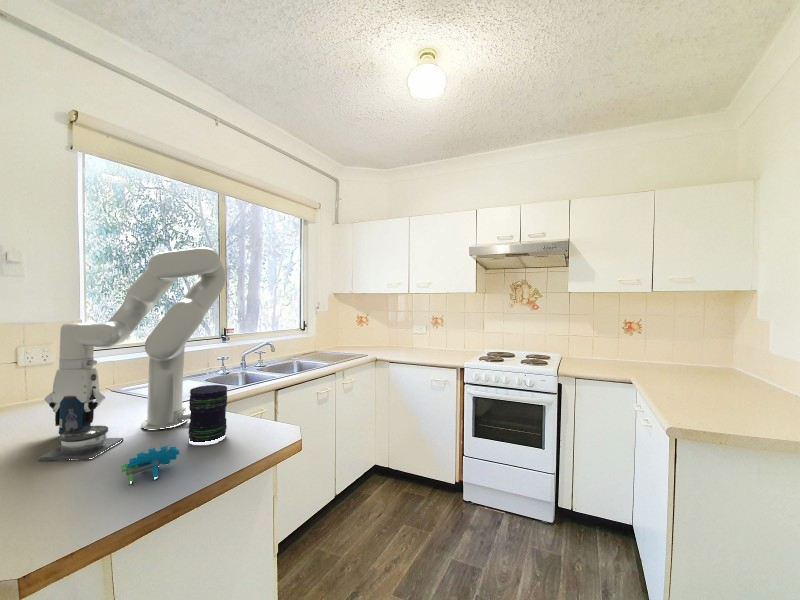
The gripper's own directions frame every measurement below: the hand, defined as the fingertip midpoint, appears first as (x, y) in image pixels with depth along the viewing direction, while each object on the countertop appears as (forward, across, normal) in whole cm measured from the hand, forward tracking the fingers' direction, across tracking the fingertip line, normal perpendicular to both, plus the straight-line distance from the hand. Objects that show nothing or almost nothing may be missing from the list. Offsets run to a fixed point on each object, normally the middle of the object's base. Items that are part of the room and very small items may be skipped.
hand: (74, 423), depth 105 cm
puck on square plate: (+3, -11, +12) cm, 17 cm away
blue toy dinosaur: (+3, -36, +27) cm, 45 cm away
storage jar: (+3, -40, +6) cm, 41 cm away
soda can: (+3, 0, 0) cm, 3 cm away
